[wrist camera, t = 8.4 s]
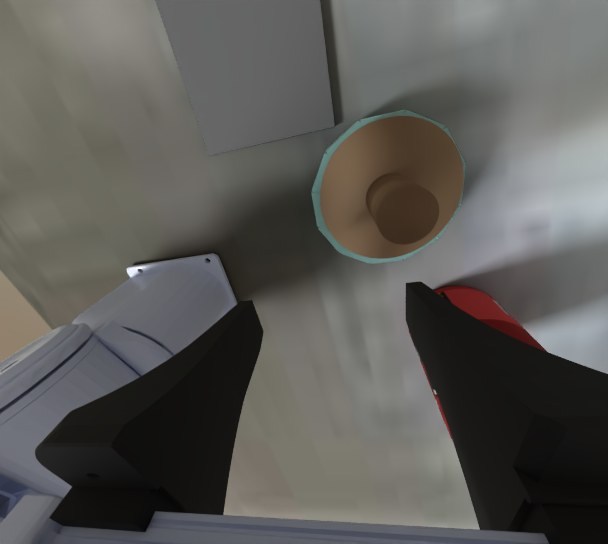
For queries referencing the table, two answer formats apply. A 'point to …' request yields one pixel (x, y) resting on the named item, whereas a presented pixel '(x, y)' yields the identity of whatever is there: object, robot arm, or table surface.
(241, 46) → the mat
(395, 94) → the table surface
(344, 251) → the bowl
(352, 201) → the lid
